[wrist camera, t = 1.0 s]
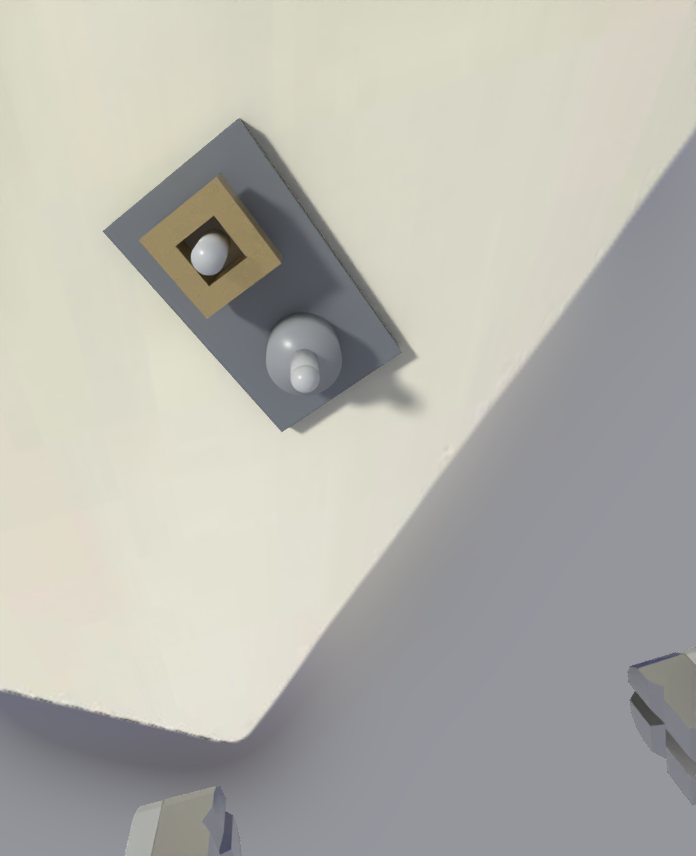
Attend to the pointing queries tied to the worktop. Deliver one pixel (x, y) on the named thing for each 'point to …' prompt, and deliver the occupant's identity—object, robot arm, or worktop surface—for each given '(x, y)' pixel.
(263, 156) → the mount board
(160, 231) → the tan square ring
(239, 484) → the worktop surface
